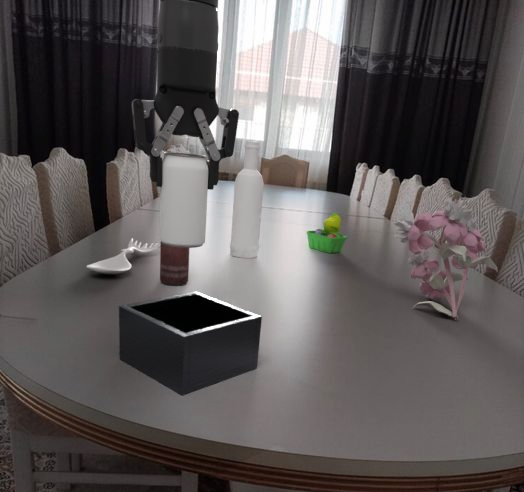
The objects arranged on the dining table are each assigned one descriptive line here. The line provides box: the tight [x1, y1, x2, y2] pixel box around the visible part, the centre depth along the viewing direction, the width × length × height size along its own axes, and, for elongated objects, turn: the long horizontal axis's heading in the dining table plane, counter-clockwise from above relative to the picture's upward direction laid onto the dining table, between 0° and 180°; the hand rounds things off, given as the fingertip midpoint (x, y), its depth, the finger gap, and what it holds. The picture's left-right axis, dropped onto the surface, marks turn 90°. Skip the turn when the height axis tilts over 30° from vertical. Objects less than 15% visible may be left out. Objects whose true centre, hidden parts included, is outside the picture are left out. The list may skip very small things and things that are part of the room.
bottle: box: [229, 139, 265, 259], centre depth 140 cm, size 8×8×30 cm
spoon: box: [85, 237, 161, 275], centre depth 124 cm, size 9×32×4 cm, turn 173°
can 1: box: [158, 151, 209, 249], centre depth 72 cm, size 6×6×12 cm
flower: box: [392, 195, 499, 323], centre depth 111 cm, size 20×22×25 cm
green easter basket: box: [305, 212, 348, 254], centre depth 162 cm, size 11×9×11 cm
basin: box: [118, 291, 263, 396], centre depth 73 cm, size 14×14×8 cm
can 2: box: [159, 241, 190, 287], centre depth 111 cm, size 6×6×14 cm
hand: (183, 187), depth 71 cm, fingers closed on can 1, 6 cm apart
